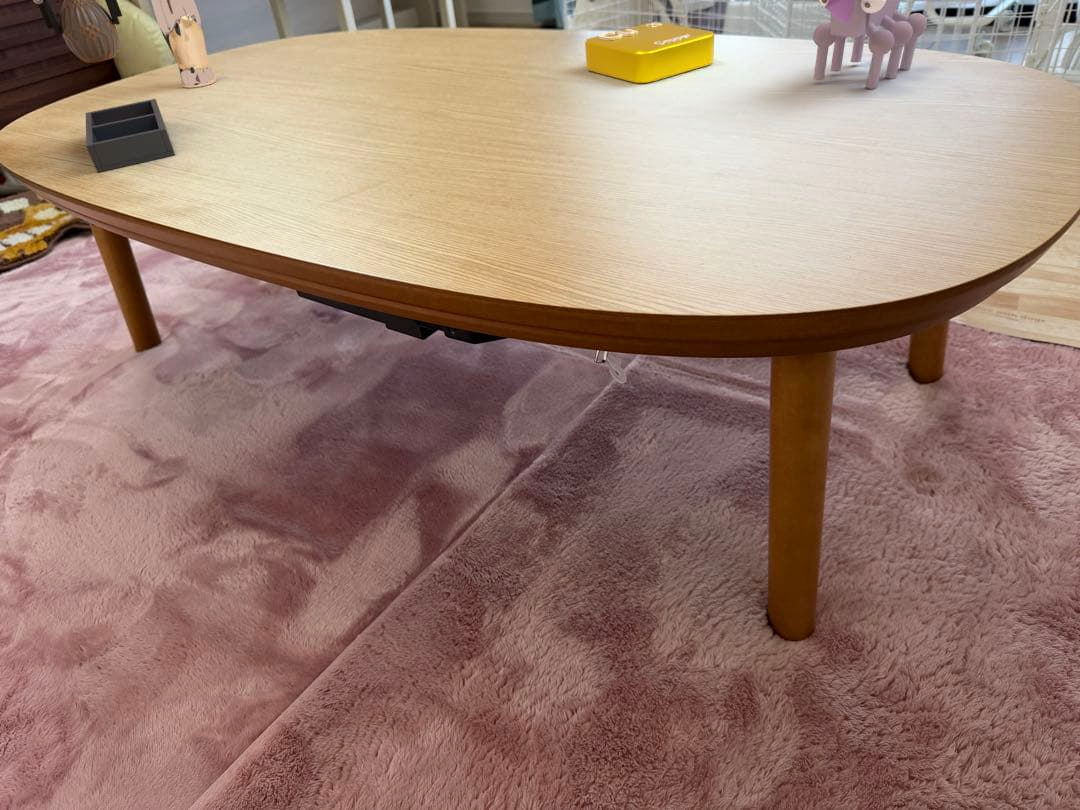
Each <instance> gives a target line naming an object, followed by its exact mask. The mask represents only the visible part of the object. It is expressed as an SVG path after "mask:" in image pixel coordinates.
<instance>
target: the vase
mask: <svg viewBox="0 0 1080 810" xmlns="http://www.w3.org/2000/svg"><path fill="white" fill-rule="evenodd" d="M59 24H60V28H61V32H62V34H61V36H62V37H63V40H64V42H65V44H66V45H67V47H68V49H69V50H70V51H71V52H72V53H73V55H74V56H76V57H77V58H78V59H79V60H81V61H83V62H85V63H99V62H104V61H108V60H111V59H113V58H116V56H117V53H118V52H119V48H120V37H119V32H118V29H117V25H116V24H114V23H113V20H112V17H111V15H110V13H109V11H107V10H106V8H104V7H103V6H102V5H100V4H99V3H98V2H97V1H96V0H63V4H62V6H61V10H60V12H59Z"/></svg>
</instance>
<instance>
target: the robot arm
mask: <svg viewBox="0 0 1080 810" xmlns="http://www.w3.org/2000/svg"><path fill="white" fill-rule="evenodd" d="M32 1H33V3H34V4H37V6H38V9H39V11H40V13H41V16H42V18H43V20H44V23H45V25H46V28H47V29H48V30H51V29H53V31H54V34H55V36H62V32H61V28H60V21H59V19H58V17H57V14H56V12H55V10H54V8H53V6H52V3H51V1H50V0H32ZM104 2H105V4H106V7H107V9H108V13H109V15H110V17H111V18H112V20H113V23H114V24H115V26H119V25H121V22H120V20H119V17H120V18H121V17H123V13H122V10H121V8H120V6H119V3H118V0H104Z"/></svg>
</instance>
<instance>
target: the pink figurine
mask: <svg viewBox="0 0 1080 810" xmlns="http://www.w3.org/2000/svg"><path fill="white" fill-rule="evenodd" d="M818 1H819V3H820V5H822V6H823V7H824V8H826V10H828V12H830V21H825V22H822V23H819V25H817V26H816V27H815V29H814V31H813V33H812V39H813V42H814V44H815V45H816V46H817V50H816V58H815V65H814V72H813V81H822V80H825V75H826V68H827V60H828V55H829V47H830V46H832V45H833V49H832V50H833V52H832V58H831V64H830V72H841V71H842V66H843V59H844V52H845V46H846V39H848V38H851V39H852V38H853V44H852V49H851V57H850V63H861V62H862V57H863V52H864V51H863V50H864V44H865V40H866V36H867V37H868V39H869V40H868V44H867V45H868V50H869V52H870V53H871V54H872V55H871V60H870V65H869V70H868V76H867V80H866V85H865V87H866V88H867V89H870V90H876V89H877V88H878V85H879V80H880V75H881V71H882V67H883V66H882V65H883V61H884V58H885V57H884V56H885V55H886V54H889V58H888V63H887V66H886V71H885V78H886V79H892V80H893V79H896V78H897V75H898V70H899V69H901V70H905V71H907V70H911V68H912V63H913V58H914V54H915V50H916V46H917V42H918V38H919V37H921V36H922V35H923V34H924V33H925V32H926V30H927V27H928V21H927V18H926V16H925V15H924V14H922V13H920V12H914V13H911V14H909V15H907V14H905V13H903V12H902V11H900V10H899V6H900V2H901V0H818ZM879 26H880V27H881V29H879V28H878V27H879ZM889 52H890V53H889Z"/></svg>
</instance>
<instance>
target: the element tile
mask: <svg viewBox="0 0 1080 810" xmlns="http://www.w3.org/2000/svg"><path fill="white" fill-rule="evenodd" d="M584 45H585V48H584V49H585V63H586V64H585V65H586V68H587V70H588V71H590V72H592V73H597V74H600V75H604V76H608V77H611V78H615V79H619V80H623V81H626V82H630V83H635V84H649V83H653V82H656V81H660V80H664V79H667V78H669V77H673V76H677V75H680V74H684V73H687V72H690V71H694V70H697V69H700V68H704V67H708V66H709V65H712V64H713V63H714V58H715V57H714V56H715V33H714V32H713V31H711V30H706V29H700V28H694V27H688V26H683V25H677V24H672V23H665V22H660V21H652V22H648V23H643V24H639V25H636V26H633V27H628V28H624V29H619V30H616V31H609V32H604V33H601V34H599V35H597V36H593V37H589V38H586V40H585V42H584Z"/></svg>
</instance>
